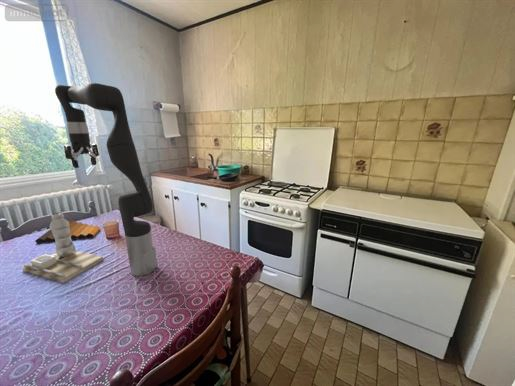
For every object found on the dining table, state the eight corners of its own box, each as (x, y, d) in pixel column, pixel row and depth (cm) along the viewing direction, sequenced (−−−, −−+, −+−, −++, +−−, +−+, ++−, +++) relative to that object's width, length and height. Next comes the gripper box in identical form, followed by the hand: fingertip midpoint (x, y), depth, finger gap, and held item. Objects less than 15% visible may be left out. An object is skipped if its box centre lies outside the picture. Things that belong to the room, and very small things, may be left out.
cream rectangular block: (56, 262, 93) (54, 256, 92) (42, 269, 88) (40, 262, 87) (46, 260, 94) (44, 253, 93) (32, 266, 90) (30, 259, 89)
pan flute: (61, 224, 133) (36, 244, 110) (60, 219, 132) (34, 238, 110) (109, 220, 141) (94, 238, 118) (108, 215, 140) (92, 232, 117)
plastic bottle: (59, 261, 94) (48, 217, 88) (55, 255, 98) (44, 213, 92) (78, 254, 99) (68, 213, 93) (73, 249, 103) (64, 209, 97)
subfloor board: (103, 259, 98) (102, 254, 97) (64, 282, 83) (62, 276, 83) (65, 251, 104) (64, 246, 104) (23, 270, 90) (21, 265, 89)
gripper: (87, 132, 111) (93, 163, 116) (55, 132, 98) (64, 168, 103) (99, 132, 109) (104, 164, 114) (68, 132, 96) (76, 169, 101)
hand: (85, 166), depth 108 cm, fingers open, 8 cm apart
